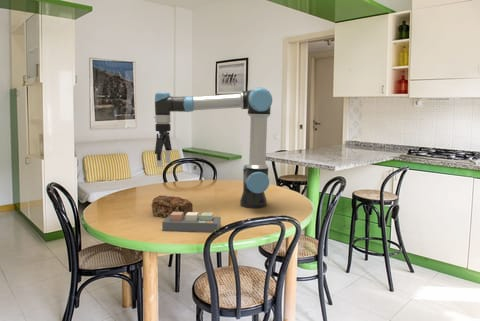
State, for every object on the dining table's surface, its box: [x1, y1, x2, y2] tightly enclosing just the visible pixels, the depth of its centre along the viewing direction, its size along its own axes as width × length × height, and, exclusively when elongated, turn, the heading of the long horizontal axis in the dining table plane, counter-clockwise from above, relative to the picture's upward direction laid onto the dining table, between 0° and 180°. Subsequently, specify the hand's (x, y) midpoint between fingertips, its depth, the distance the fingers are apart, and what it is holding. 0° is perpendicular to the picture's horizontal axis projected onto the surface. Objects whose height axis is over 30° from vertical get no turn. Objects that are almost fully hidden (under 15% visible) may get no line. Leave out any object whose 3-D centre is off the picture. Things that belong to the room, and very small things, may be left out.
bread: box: [151, 195, 194, 219], centre depth 205 cm, size 19×11×10 cm, turn 64°
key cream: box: [185, 211, 199, 221], centre depth 185 cm, size 5×5×4 cm
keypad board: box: [161, 215, 222, 233], centre depth 186 cm, size 25×11×4 cm, turn 85°
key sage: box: [200, 212, 214, 222], centre depth 185 cm, size 5×5×4 cm
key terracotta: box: [170, 212, 184, 221], centre depth 186 cm, size 5×5×4 cm
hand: (163, 164), depth 207 cm, fingers open, 13 cm apart
